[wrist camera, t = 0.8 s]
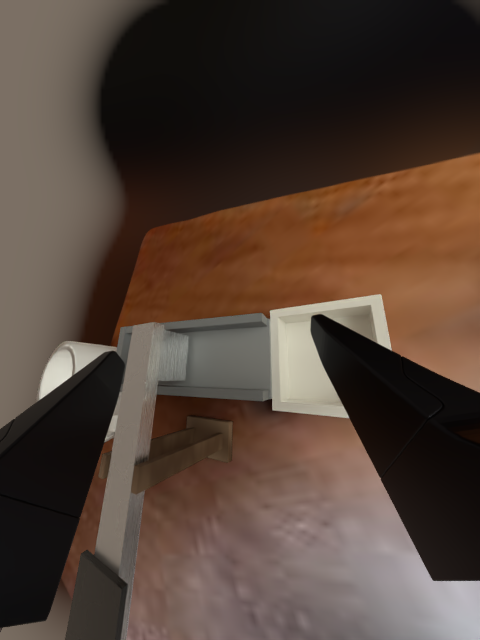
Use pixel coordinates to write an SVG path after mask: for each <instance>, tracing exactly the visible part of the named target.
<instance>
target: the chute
mask: <svg viewBox="0 0 480 640" xmlns="http://www.w3.org/2000/svg"><path fill="white" fill-rule="evenodd" d="M159 324H162V325H165V330H167V331H171V332H175V333H179V334H183V335H187V336H189V343H188V354H187V366H186V377H185V380H182V381H158V386H157V394H160V395H175V396H190V397H205V398H220V399H236V400H251V401H265V400H268V399H272V370H271V329H270V319H267V318H266V317H265V316H264V315H263V314H262V313H256V314H246V315H237V316H227V317H217V318H207V319H198V320H188V321H178V322H168V323H159ZM132 330H133V326H129V327H121V330H120V335H119V341H118V346H117V351H116V352H117V354H118V355H119V356H120V357H121V359H122V360H123V361H124V363H125V369H124V374H123V379H122V384H121V388H120V392H122V389H123V383H124V377H125V371H126V365H127V359H128V353H129V347H130V341H131V336H132Z"/></svg>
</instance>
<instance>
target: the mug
mask: <svg viewBox="0 0 480 640" xmlns="http://www.w3.org/2000/svg"><path fill="white" fill-rule="evenodd" d="M107 351H115V352H116V351H117V347H112V346H104V345H97V344H89V343H81V342H74V341H64V342H63V343H61V344H60V345H58V346H57V348H56V349H55V350H54V351H53V353H52V354H51V356H50V357H49V359H48V361H47V363H46V365H45V368H44V370H43V373H42V376H41V379H40V382H39V387H38V393H37V402H38V401H39V400H40V399H42V398H43V397H44V396H46V395H47V394H48V393H50V392H51V391H52V390H54V389H55V388H57V387H58V386H59V385H61V384H62V383H63V382H65V381H66V380H67V379H69V378H70V377H71V376H73V375H74V374H75V373H77V372H78V371H80V370H81V369H82V368H84V367H85V366H86V365H88V364H89V363H90V362H92V361H93V360H94V359H96V358H97V357H98V356H100V355H101V354H102V353H104V352H107ZM121 395H122V392H120V393H119V397H118V401H117V404H116V407H115V410H114V413H113V416H112V420H111V423H110V426H109V429H108V432H107V435H106V438H105V441H104V443H105V442H107V441H108V440H110V439H112V438H114V436H115V430H116V424H117V418H118V412H119V406H120V401H121Z"/></svg>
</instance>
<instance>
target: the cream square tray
mask: <svg viewBox="0 0 480 640" xmlns="http://www.w3.org/2000/svg"><path fill="white" fill-rule="evenodd" d="M317 314H323V315H325V316H327V317H328V318H330V319H332V320H334V321H336V322H338V323H340V324H342V325H344V326H346V327H348V328H349V329H351V330H353V331H355V332H357V333H359V334H361V335H363V336H365V337H367V338H369V339H370V340H372V341H374V342H376V343H378V344H380V345H382V346H384V347H386V348H388V349H390V350H392V349H391V344H390V339H389V333H388V328H387V323H386V318H385V312H384V307H383V302H382V296H381V294H379V295H372V296H365V297H358V298H352V299H345V300H338V301H331V302H325V303H318V304H311V305H304V306H297V307H291V308H284V309H277V310H270V329H271V370H272V410H275V411H284V412H294V413H304V414H314V415H323V416H333V417H343V418H349V416H348V414H347V412H346V410H345V408H344V406H343V404H342V402H341V400H340V399H339V397H338V395H337V393H336V391H335V389H334V387H333V385H332V383H331V381H330V379H329V377H328V375H327V373H326V371H325V369H324V367H323V365H322V363H321V360H320V357H319V355H318V352H317V349H316V346H315V344H314V341H313V338H312V336H311V331H310V328H311V317H312V316H313V315H317Z"/></svg>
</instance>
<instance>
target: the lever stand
mask: <svg viewBox="0 0 480 640" xmlns="http://www.w3.org/2000/svg"><path fill="white" fill-rule="evenodd" d="M232 424H233V421H227V420H220V419H213V418H206V417H199V416H193V415H191V416H187V425H186V429H184V430H181V431H177V432H174V433H171V434H167V435H164V436H161V437H157V438H154V439H151V443H150V451H149V459H148V461H145V462H143V463H140V464H137V465H135V466H134V472H133V479H132V486H131V493H133V494H135V495H137V494H139V493H141V492H142V491H144V490H146V489H148V488H150V487H152V486H154V485H156V484H157V483H159V482H161V481H163V480H165V479H167V478H169V477H171V476H172V475H174V474H176V473H178V472H180V471H182V470H184V469H186V468H187V467H189V466H191V465H193V464H195V463H197V462H199V461H201V460H202V459H204V458H206V457H207V458H211V459H215V460H219V461H222V462H226V463H228V462H230V461H231V460H232ZM111 454H112V451H111V452H107V453H104V454H102V459H101V465H100V471H99V476H98V477H100V478H102V479H103V478H106V477H108V472H109V466H110V460H111Z"/></svg>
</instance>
